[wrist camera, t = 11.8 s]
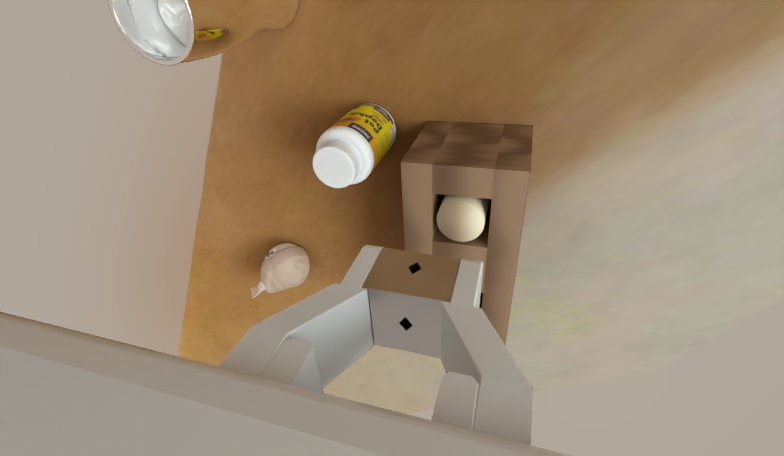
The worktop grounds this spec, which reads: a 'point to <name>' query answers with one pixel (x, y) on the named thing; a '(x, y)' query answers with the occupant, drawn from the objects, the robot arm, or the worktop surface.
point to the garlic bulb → (282, 269)
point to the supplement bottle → (354, 146)
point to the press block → (471, 179)
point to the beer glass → (195, 25)
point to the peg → (462, 217)
